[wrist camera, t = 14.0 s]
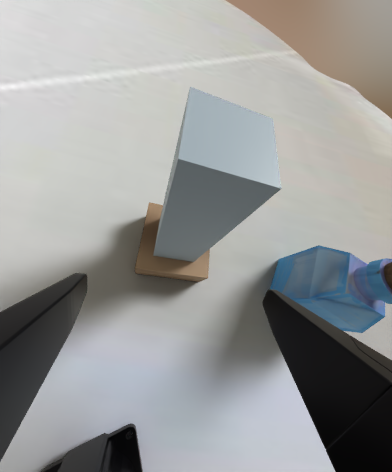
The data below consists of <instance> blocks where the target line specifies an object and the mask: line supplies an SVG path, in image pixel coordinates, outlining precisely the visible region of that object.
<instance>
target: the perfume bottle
mask: <svg viewBox="0 0 392 472" xmlns="http://www.w3.org/2000/svg"><path fill="white" fill-rule="evenodd" d="M270 289H273V290H277V291H279V292H281V293H282V294H284V295H286V296H287V297H289V298H290V299H292V300H294V301H295V302H297V303H298V304H300V305H302V306H303V307H305V308H307V309H308V310H310V311H311V312H313V313H315V314H316V315H318V316H319V317H321V318H323V319H324V320H326V321H328V322H329V323H331V324H332V325H334V326H336V327H337V328H339V329H340V330H342V331H351V332H359V333H363V332H364V331H366V330H367V329H368V328H370V327H371V326H373V325H374V324H375V323H377V322H378V321H380V320H381V319H382V318H384V317H385V302H386V303H388V304H392V259H387V258H386V259H381V260H376V261H372V262H370V263H369V264H366V263H365V262H363V261H362V260H360V259H359V258H357V257H356V256H354V255H352V254H351V253H348V252H344V251H339V250H335V249H331V248H327V247H323V246H316V247H313V248H310V249H307V250H304V251H301V252H298V253H296V254H293V255H290V256H287V257H284V258H281V259H279V261H278V264H277V267H276V271H275V274H274V277H273V281H272V284H271V287H270Z"/></svg>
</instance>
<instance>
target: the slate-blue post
mask: <svg viewBox="0 0 392 472" xmlns="http://www.w3.org/2000/svg"><path fill="white" fill-rule="evenodd" d="M280 189H281V181H280V173H279V165H278V156H277V148H276V140H275V131H274V123H273V119H272V118H270V117H267V116H265V115H262V114H260V113H257V112H254V111H252V110H249V109H247V108H244V107H241V106H239V105H236V104H234V103H231V102H229V101H226V100H223V99H221V98H218V97H216V96H213V95H210V94H208V93H205V92H203V91H200V90H198V89H195V88H192V87H190V90H189V94H188V99H187V103H186V107H185V112H184V116H183V121H182V125H181V129H180V134H179V138H178V143H177V147H176V151H175V156H174V160H173V164H172V169H171V173H170V178H169V182H168V186H167V191H166V195H165V199H164V204H163V208H162V213H161V217H160V222H159V227H158V233H157V238H156V243H155V249H154V254H153V256H158V257H164V258H171V259H177V260H183V261H189V262H194V261H196V260H197V259H198V258H199V257H200V256H202V255H203V254H204V253H205V252H206V251H207V250H209V249H210V248H211V247H212V246H213V245H215V244H216V243H217V242H218V241H219V240H221V239H222V238H223V237H224V236H225V235H227V234H228V233H229V232H230V231H231V230H233V229H234V228H235V227H236V226H237V225H238V224H240V223H241V222H242V221H243V220H244V219H246V218H247V217H248V216H249V215H250V214H252V213H253V212H254V211H255V210H256V209H258V208H259V207H260V206H261V205H262V204H264V203H265V202H266V201H267V200H268V199H270V198H271V197H272V196H273V195H274V194H275V193H277V192H278V191H279V190H280Z"/></svg>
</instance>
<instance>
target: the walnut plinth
mask: <svg viewBox="0 0 392 472" xmlns="http://www.w3.org/2000/svg"><path fill="white" fill-rule="evenodd" d="M162 208H163V205H158V204H154V203H149V206H148V210H147V215H146V219H145V224H144V229H143V233H142V238H141V242H140V247H139V251H138V256H137V261H136V265H135V273H136V274H143V275H151V276H158V277H166V278H173V279H181V280H189V281H196V282H200V281H202V280H205V279H207V278H208V268H209V250H210V249H209V250H207V251H206V252H205V253H204V254H203V255H202V256H200V257H199V258H198V259H197V260H196V261H194V262H189V261H183V260H177V259H171V258H164V257H158V256H153V254H154V249H155V243H156V238H157V233H158V227H159V222H160V217H161V213H162Z"/></svg>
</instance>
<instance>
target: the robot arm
mask: <svg viewBox="0 0 392 472" xmlns="http://www.w3.org/2000/svg"><path fill="white" fill-rule="evenodd" d="M86 293H87V275H86V274H82V273H75V274H73V275H71V276H69V277H67V278H65V279H63V280H61V281H59V282H57V283H55V284H54V285H52V286H50V287H48V288H46V289H44V290H42V291H40V292H38V293H36V294H34V295H32V296H30V297H28V298H27V299H25V300H23V301H21V302H19V303H17V304H15V305H13V306H11V307H9V308H7V309H5V310H3V311H1V312H0V461H1V459H2V457H3V456H4V454H5V452H6V450H7V448H8V446H9V444H10V443H11V441H12V439H13V437H14V435H15V433H16V432H17V430H18V428H19V426H20V424H21V422H22V420H23V419H24V417H25V415H26V413H27V411H28V409H29V407H30V406H31V404H32V402H33V400H34V398H35V396H36V395H37V393H38V391H39V389H40V387H41V385H42V383H43V382H44V380H45V378H46V376H47V374H48V372H49V371H50V369H51V367H52V365H53V363H54V361H55V359H56V358H57V356H58V354H59V352H60V350H61V348H62V347H63V345H64V343H65V341H66V339H67V337H68V335H69V334H70V332H71V330H72V328H73V325H74V323H75V320H76V318H77V316H78V313H79V311H80V308H81V306H82V303H83V301H84V298H85V296H86ZM263 307H264V310H265V313H266V315H267V318H268V321H269V324H270V327H271V329H272V332H273V335H274V337H275V339H276V341H277V343H278V346H279V348H280V350H281V352H282V354H283V357H284V359H285V361H286V363H287V365H288V368H289V370H290V372H291V374H292V376H293V379H294V381H295V383H296V385H297V387H298V390H299V392H300V394H301V396H302V399H303V401H304V403H305V405H306V407H307V410H308V412H309V414H310V416H311V418H312V421H313V423H314V425H315V427H316V429H317V432H318V434H319V436H320V438H321V440H322V443H323V445H324V447H325V449H326V452H327V454H328V456H329V458H330V461H331V463H332V465H333V467H334V469H335V472H392V360H390V359H388V358H387V357H385V356H383V355H382V354H380V353H378V352H376V351H375V350H373V349H371V348H370V347H368V346H366V345H365V344H363V343H362V342H360V341H358V340H357V339H355V338H353V337H352V336H349V335H348V334H347V333H345V332H344V331H342V330H340V329H339V328H337V327H336V326H334V325H332V324H331V323H329V322H328V321H326V320H324V319H323V318H321V317H319V316H318V315H316V314H315V313H313V312H311V311H310V310H308V309H307V308H305V307H303V306H302V305H300V304H298V303H297V302H295V301H294V300H292V299H290V298H289V297H287V296H286V295H284V294H282V293H281V292H279V291H277V290H273V289H269V290H268V291H267V293H266V295H265V297H264V300H263ZM128 431H132V435H131V436H127V435H126V434H127V432H128ZM41 472H143V470H142V464H141V457H140V451H139V445H138V438H137V432H136V427H135V425H134V424H128V425H126V426H124V427H122V428H120V429H119V430H117V431H115V432H113V433H111V434H109V435H108V434H106V433H104V434H102V435H100V436H98V437H96V438H94V439H92V440H90V441H88V442H86V443H84V444H82V445H80V446H78V447H76V448H74V449H72V450H70V451H69V452H68V453H67V454H66V456H65V458H63V459H61V460H59V461H57V462H55V463H53V464H51V465H49V466H47V467H45V468H44V469H43V470H42V471H41Z"/></svg>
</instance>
